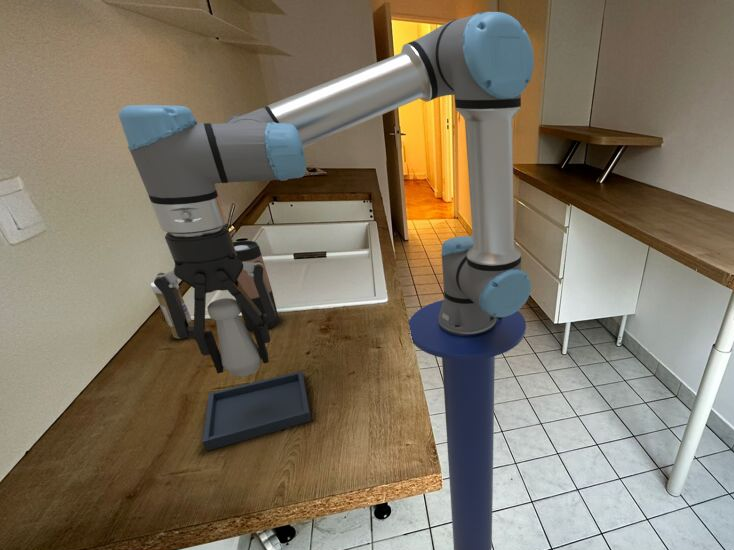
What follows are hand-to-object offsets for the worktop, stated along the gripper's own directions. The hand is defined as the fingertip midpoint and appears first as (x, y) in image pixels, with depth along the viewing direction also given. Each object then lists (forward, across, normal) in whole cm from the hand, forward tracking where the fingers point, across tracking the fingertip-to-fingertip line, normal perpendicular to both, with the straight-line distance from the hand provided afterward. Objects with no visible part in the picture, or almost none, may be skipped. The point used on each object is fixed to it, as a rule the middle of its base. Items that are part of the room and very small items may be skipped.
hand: (243, 363), depth 69 cm
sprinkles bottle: (+11, -15, +37) cm, 41 cm away
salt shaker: (+2, 0, 0) cm, 2 cm away
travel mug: (+11, +1, +35) cm, 37 cm away
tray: (+11, 0, 0) cm, 11 cm away
